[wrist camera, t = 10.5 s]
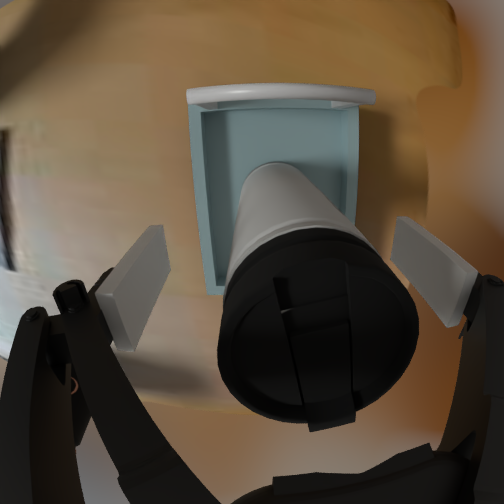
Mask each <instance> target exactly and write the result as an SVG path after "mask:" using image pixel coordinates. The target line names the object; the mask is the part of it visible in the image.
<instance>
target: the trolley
mask: <svg viewBox="0 0 504 504" xmlns="http://www.w3.org/2000/svg"><path fill="white" fill-rule="evenodd" d="M375 101H376V94H375V91H374V90H370V89H363V88H355V87H346V86H336V85H323V84H305V83H250V84H232V85H219V86H209V87H200V88H192V89H187V102H188V114H189V130H190V144H191V157H192V169H193V180H194V191H195V201H196V210H197V219H198V228H199V237H200V245H201V253H202V260H203V268H204V275H205V282H206V289H207V295H224V290H225V283H226V276H227V270H228V264H229V258H230V252H231V246H232V240H233V235H234V229H235V223H236V217H237V212H238V206H239V200H240V195H241V190H242V186H243V183H244V181H245V179H246V177H247V176H248V175H249V173H250V172H251V171H252V170H254V169H255V168H256V167H258V166H260V165H262V164H265V163H268V162H275V161H276V162H284V163H288V164H290V165H292V166H294V167H296V168H297V169H298V170H300V171H301V172H302V173H303V174H304V175H305V176H306V177H307V178H308V179H309V180H310V181H311V182H312V183H313V184H314V185H315V186H316V187H317V188H318V189H319V190H320V191H321V192H322V193H323V194H324V195H325V196H326V197H327V198H328V199H329V200H330V201H331V202H332V203H333V204H334V205H335V206H336V207H337V208H338V209H339V210H340V211H341V212H342V213H343V214H344V215H345V216H346V217H347V218H348V219H349V220H350V221H351V222H352V223H353V225H354V226H355V217H356V203H357V187H358V162H359V105H364V104H369V105H374V104H375Z"/></svg>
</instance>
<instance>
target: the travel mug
mask: <svg viewBox="0 0 504 504" xmlns="http://www.w3.org/2000/svg"><path fill="white" fill-rule="evenodd" d="M418 335H419V318H418V313H417V309H416V306H415V303H414V301H413V299H412V297H411V296H410V294H409V292H408V291H407V289H406V288H405V286H404V285H403V284H402V283H401V281H400V280H399V279H398V278H397V276H396V275H395V274H394V273H393V272H392V270H391V269H390V268H389V267H388V265H387V264H385V263H384V261H383V259H382V258H381V256H380V255H379V253H378V252H377V250H376V249H375V248H374V247H373V245H372V244H370V243H369V241H368V240H367V239H366V238H365V237H364V235H363V234H362V233H361V232H360V231H359V230H358V229H357V228H356V227H355V226H354V225H353V223H352V222H351V221H350V220H349V219H348V218H347V217H346V216H345V215H344V214H343V213H342V212H341V211H340V210H339V209H338V208H337V207H336V206H335V205H334V204H333V203H332V202H331V201H330V200H329V199H328V198H327V197H326V196H325V195H324V194H323V193H322V192H321V191H320V190H319V189H318V188H317V187H316V186H315V185H314V184H313V183H312V182H311V181H310V180H309V179H308V178H307V177H306V176H305V175H304V174H303V173H302V172H301V171H300V170H298V169H297V168H296V167H294V166H292V165H290V164H288V163H284V162H276V161H275V162H268V163H265V164H262V165H260V166H258V167H256V168H255V169H254V170H252V171H251V172H250V173H249V175H248V176H247V177H246V179H245V181H244V183H243V186H242V190H241V195H240V200H239V206H238V212H237V217H236V223H235V229H234V235H233V240H232V246H231V252H230V258H229V264H228V270H227V276H226V283H225V290H224V295H223V314H222V319H221V326H220V333H219V340H218V347H217V358H218V367H219V371H220V374H221V377H222V380H223V382H224V383H225V385H226V386H227V388H228V390H229V391H230V393H231V394H232V395H233V396H234V397H235V398H236V399H237V400H238V401H239V402H240V403H241V404H243V405H244V406H245V407H247V408H248V409H250V410H251V411H253V412H255V413H257V414H259V415H262V416H264V417H266V418H269V419H273V420H277V421H281V422H288V423H308V427H309V431H310V432H314V431H319V430H324V429H328V428H332V427H337V426H341V425H345V424H348V423H353V422H355V418H356V411H358V410H360V409H363V408H365V407H366V406H368V405H370V404H371V403H373V402H374V401H376V400H378V399H379V398H380V397H381V396H382V395H384V394H385V393H386V392H387V391H388V390H390V389H391V387H392V386H393V385H394V384H395V383H396V382H397V381H398V380H399V379H400V378H401V376H402V375H403V373H404V372H405V370H406V368H407V367H408V365H409V363H410V361H411V359H412V357H413V354H414V352H415V349H416V345H417V340H418Z"/></svg>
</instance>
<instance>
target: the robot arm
mask: <svg viewBox="0 0 504 504" xmlns="http://www.w3.org/2000/svg"><path fill="white" fill-rule="evenodd" d="M390 260H391V261H392V262H393V263H394V264H395V265H396V266H397V267H398V269H399V270H400V271H401V272H402V273H403V274H404V275H405V277H406V278H407V279H408V280H409V281H410V282H411V283H412V285H413V286H414V287H415V288H416V289H417V291H418V292H419V293H420V294H421V296H422V297H423V298H424V299H425V300H426V302H427V303H428V304H429V305H430V306H431V308H432V309H433V310H434V312H435V313H436V314H437V316H438V317H439V318H440V319H441V321H442V322H443V323H444V325H445V326H446V327H447V328H448V327H452V326H456V325H458V324H459V322H460V320H461V317H462V315H463V314H464V315H465V316H466V317H467V320H466V322H465V324H464V327H463V329H462V331H461V333H460V335H459V339H460V338H461V336H463V342H462V350H461V358H460V364H459V371H458V377H457V382H456V387H455V392H454V396H453V401H452V405H451V409H450V413H449V417H448V420H447V424H446V428H445V431H444V434H443V438H442V441H441V443H440V445H439V447H438V449H437V450H436V451H432V448H431V446H430V443H427V444H424V445H421V446H419V447H416V448H413V449H411V450H407V451H405V452H402V453H398V454H396V455H394V456H393V457H391V458H389V459H388V460H386V461H384V462H382V463H380V464H379V465H377V466H375V467H373V468H371V469H370V470H367V471H365V472H363V473H359V474H341V473H319V472H315V473H308V474H299V475H289V476H278V477H273V482H272V485H269V486H265V487H262V488H259V489H257V490H254V491H251V492H249V493H247V494H245V495H243V496H242V497H240V498H238V499H237V500H235V501H234V502H233V503H231V504H504V282H503V281H502V280H501V279H499V278H498V277H496V276H493V275H484V276H482V275H481V274H480V273H479V272H478V271H477V270H476V269H475V268H473V267H472V266H471V265H470V264H469V263H468V262H466V261H465V260H464V259H463V258H462V257H460V256H459V255H458V254H457V253H456V252H454V251H453V250H452V249H451V248H449V247H448V246H447V245H445V244H444V243H443V242H441V241H440V240H439V239H438V238H436V237H435V236H434V235H432V234H431V233H430V232H428V231H427V230H426V229H424V228H423V227H422V226H420V225H419V224H418V223H416V222H415V221H413V220H412V219H411V218H409V217H408V216H397V221H396V228H395V234H394V241H393V247H392V252H391V258H390ZM170 270H171V268H170V263H169V258H168V252H167V247H166V241H165V235H164V229H163V225H151V226H149V227H148V228H147V229H146V231H145V232H144V233H143V234H142V235H141V236H140V237H139V239H138V240H137V241H136V242H135V243H134V245H133V246H132V247H131V248H130V249H129V251H128V252H127V253H126V254H125V255H124V257H123V258H122V259H121V260H120V262H119V263H118V264H117V265H116V267H115V268H110V269H109V270H107V271H106V272H104V273H103V274H102V276H101V277H100V278H99V280H97V282H96V283H95V286H93V287H92V288H91V289H90V291H89V292H88V293H87V291H86V288H85V286H84V283H83V282H82V281H81V280H70V281H67V282H65V283H63V284H61V285H59V286H58V287H57V288H56V289H55V290H54V291H53V297H54V299H55V302H56V304H57V306H58V309H59V311H60V313H61V314H59V315H54V316H48V314H47V311H46V309H45V308H44V307H40V306H39V307H34V308H30V309H29V310H27V311H26V312H25V313H24V314H23V315H22V317H21V319H20V322H19V325H18V328H17V331H16V334H15V337H14V341H13V344H12V348H11V351H10V355H9V359H8V363H7V367H6V372H5V376H4V381H3V386H2V392H1V397H0V504H85V501H84V497H83V492H82V488H81V483H80V477H79V472H78V466H77V459H76V452H75V444H74V434H73V422H72V405H71V363H73V365H74V368H75V371H76V375H77V378H78V381H79V384H80V387H81V389H82V392H83V395H84V398H85V401H86V403H87V406H88V408H89V411H90V413H91V416H92V418H93V421H94V422H95V425H96V428H97V430H98V432H99V434H100V436H101V438H102V441H103V443H104V445H105V447H106V449H107V451H108V453H109V455H110V457H111V459H112V461H113V463H114V465H115V466H116V468H117V470H118V472H119V477H118V478H117V479H118V482H119V485H120V487H121V489H122V491H123V493H124V494H125V496H126V498H127V499H128V501H129V502H130V504H221V503H220V502H219V501H218V500H217V499H216V498H215V497H214V496H213V495H212V494H211V493H210V491H209V490H208V489H207V488H206V487H205V486H204V485H203V484H202V483H201V481H200V480H199V479H198V478H197V477H196V476H195V474H194V473H193V472H192V471H191V470H190V469H189V467H188V466H187V465H186V464H185V462H184V461H183V460H182V459H181V457H180V456H179V455H178V454H177V452H176V451H175V450H174V449H173V448H172V446H171V445H170V444H169V442H168V441H167V440H166V438H165V437H164V435H163V434H162V433H161V431H160V430H159V428H158V427H157V426H156V424H155V423H154V421H153V420H152V418H151V416H150V415H149V414H148V412H147V410H146V409H145V407H144V406H143V404H142V402H141V401H140V399H139V398H138V396H137V394H136V393H135V391H134V389H133V387H132V386H131V384H130V382H129V381H128V379H127V377H126V375H125V373H124V372H123V370H122V368H121V366H120V364H119V362H118V360H117V358H116V356H115V355H114V353H113V351H112V349H111V347H110V345H111V343H112V341H114V343H115V345H116V347H117V350H120V351H132V352H134V351H135V349H136V347H137V344H138V342H139V339H140V337H141V335H142V332H143V330H144V328H145V325H146V323H147V321H148V318H149V316H150V314H151V312H152V309H153V307H154V305H155V303H156V300H157V298H158V296H159V294H160V292H161V289H162V287H163V285H164V283H165V281H166V279H167V277H168V274H169V272H170Z"/></svg>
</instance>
